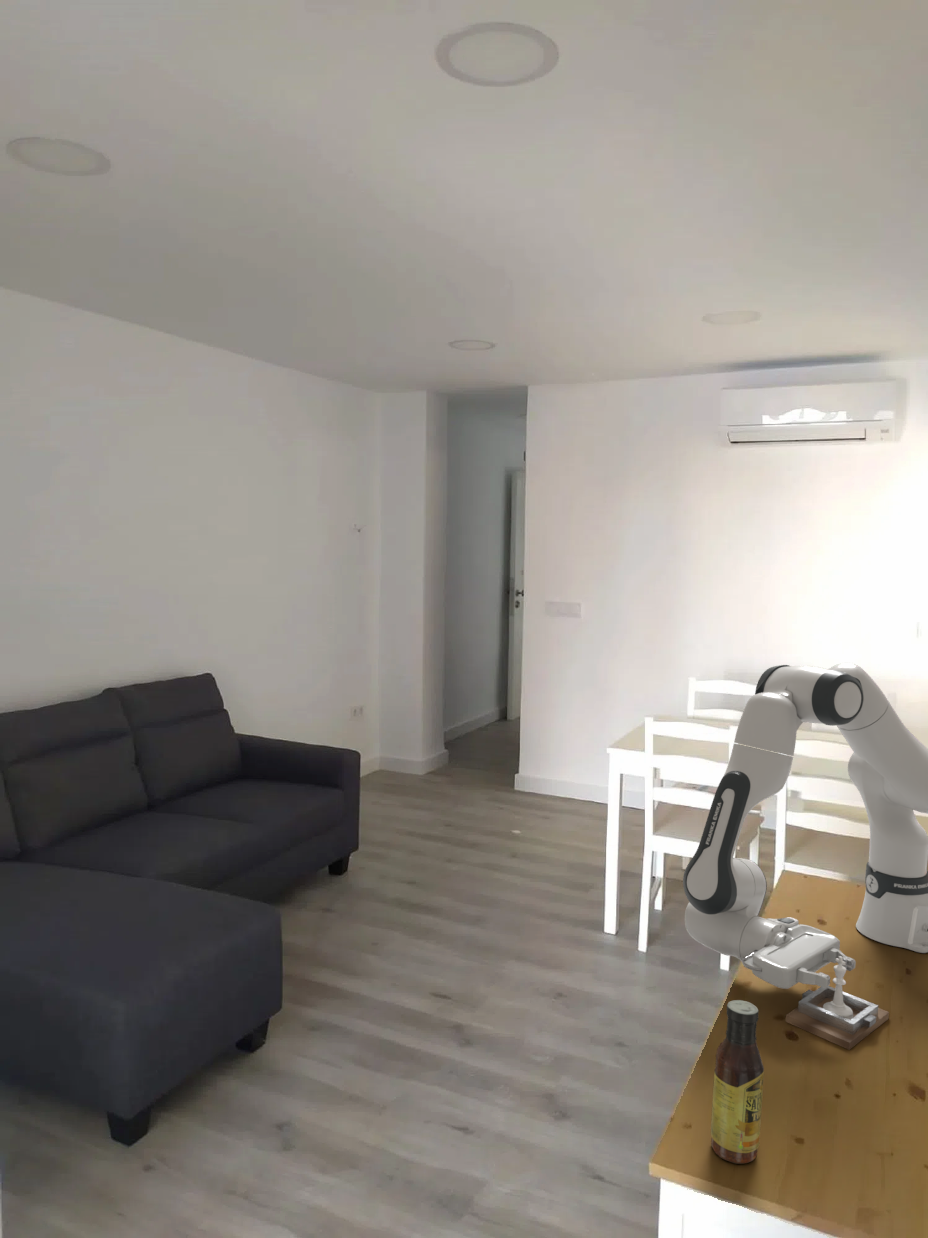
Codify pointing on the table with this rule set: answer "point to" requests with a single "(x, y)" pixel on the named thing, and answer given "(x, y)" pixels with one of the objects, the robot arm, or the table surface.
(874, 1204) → the table surface
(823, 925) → the table surface
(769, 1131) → the table surface
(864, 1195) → the table surface
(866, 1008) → the square frame tray
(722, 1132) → the sauce bottle
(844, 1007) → the chess piece
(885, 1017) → the socket board
